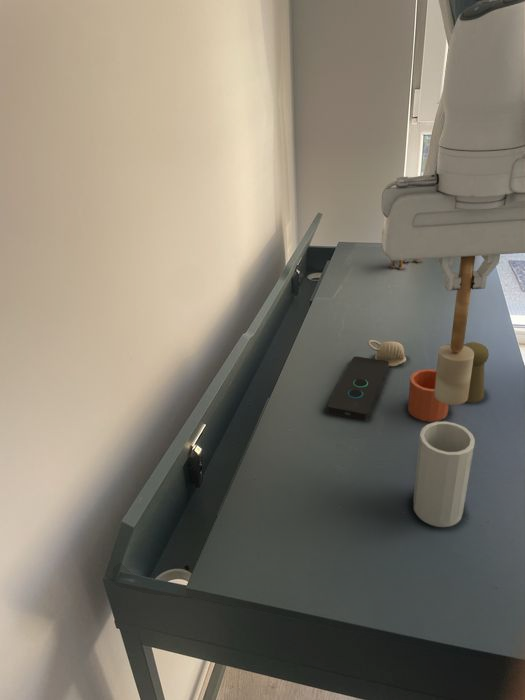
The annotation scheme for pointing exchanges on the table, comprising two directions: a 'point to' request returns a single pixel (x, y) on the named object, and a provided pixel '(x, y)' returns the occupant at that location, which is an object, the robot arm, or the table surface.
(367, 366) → the smart home device
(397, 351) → the decorative ornament
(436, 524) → the white cylindrical cup
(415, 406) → the brush holder
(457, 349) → the bottle brush
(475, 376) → the olive pepper mill
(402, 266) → the lion figurine
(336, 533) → the table surface
